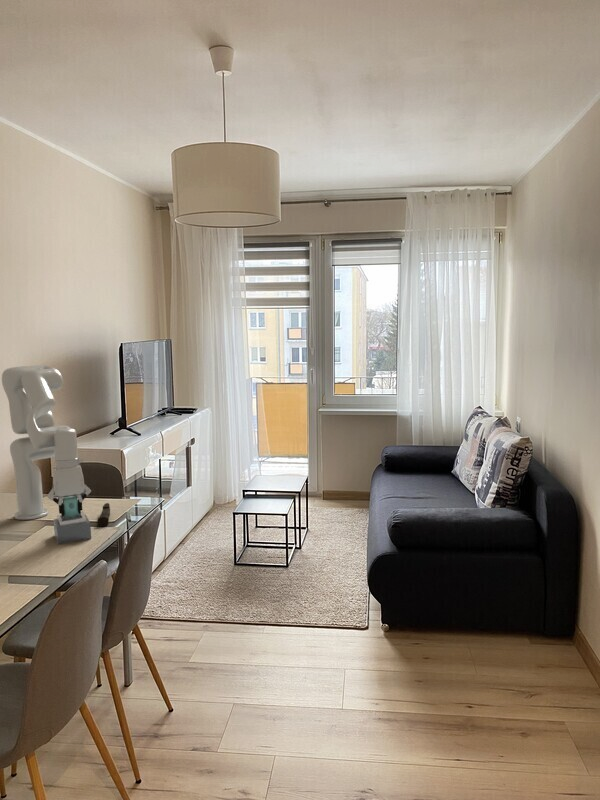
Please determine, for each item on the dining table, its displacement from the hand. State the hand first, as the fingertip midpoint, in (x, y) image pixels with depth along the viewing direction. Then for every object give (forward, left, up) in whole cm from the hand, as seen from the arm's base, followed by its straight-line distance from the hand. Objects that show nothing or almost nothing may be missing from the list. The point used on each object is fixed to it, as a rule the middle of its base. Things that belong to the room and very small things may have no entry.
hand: (71, 513), depth 229 cm
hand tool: (-16, +14, -9) cm, 23 cm away
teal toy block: (0, 0, 0) cm, 0 cm away
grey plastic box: (0, 0, -9) cm, 9 cm away
